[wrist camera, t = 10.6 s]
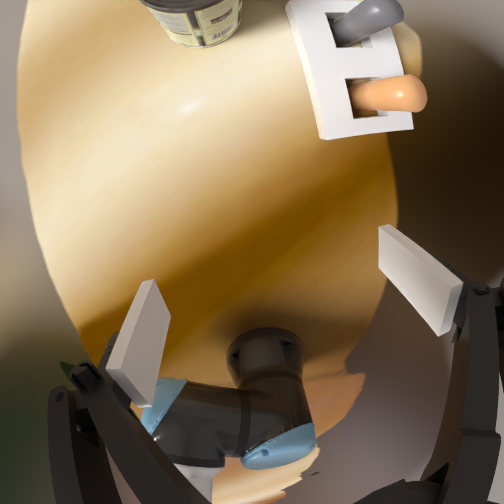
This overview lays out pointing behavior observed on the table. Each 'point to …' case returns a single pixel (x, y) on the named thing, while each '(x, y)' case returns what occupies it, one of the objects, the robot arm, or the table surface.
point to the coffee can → (197, 20)
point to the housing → (342, 69)
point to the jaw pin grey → (366, 21)
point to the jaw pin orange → (389, 94)
